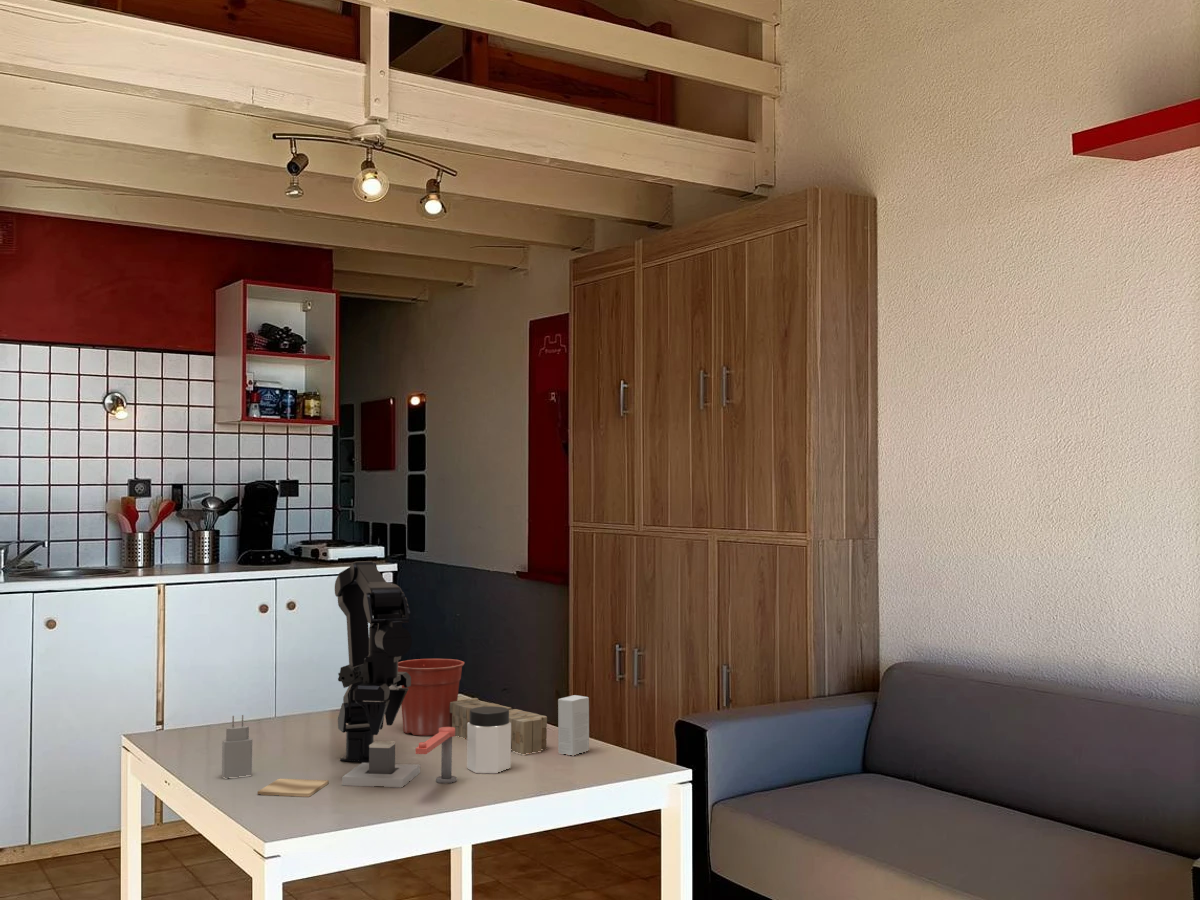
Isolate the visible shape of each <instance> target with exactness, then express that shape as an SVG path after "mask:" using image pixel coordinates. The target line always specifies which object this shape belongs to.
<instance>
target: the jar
mask: <svg viewBox="0 0 1200 900" xmlns="http://www.w3.org/2000/svg"><path fill="white" fill-rule="evenodd" d="M466 740H467V741H466V743H467V744H466V769H467V768H468V770H469V771H471V772H472V773H475V774H499V773H498V772H500V773H502V772H501V771H503V770H506V769H508V768H510V769H511V767H512V766H511V765H512V764H511V763H512V750H511V723H510V722H509V709H507V708H504V707H493V706H489V707H477V708H473V709H471V710H470V714H469V722H468V723H467V739H466ZM506 771H507V770H506ZM503 772H504V771H503Z"/></svg>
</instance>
